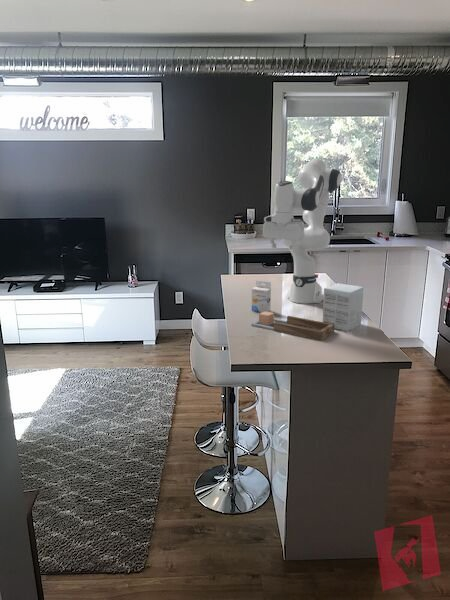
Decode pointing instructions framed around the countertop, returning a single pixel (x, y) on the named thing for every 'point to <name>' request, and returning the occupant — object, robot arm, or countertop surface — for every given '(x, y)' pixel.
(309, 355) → the countertop surface
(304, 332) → the walnut cubby
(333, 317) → the supplement box
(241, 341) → the countertop surface
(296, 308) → the countertop surface
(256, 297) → the ink box
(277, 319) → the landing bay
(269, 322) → the terracotta block
